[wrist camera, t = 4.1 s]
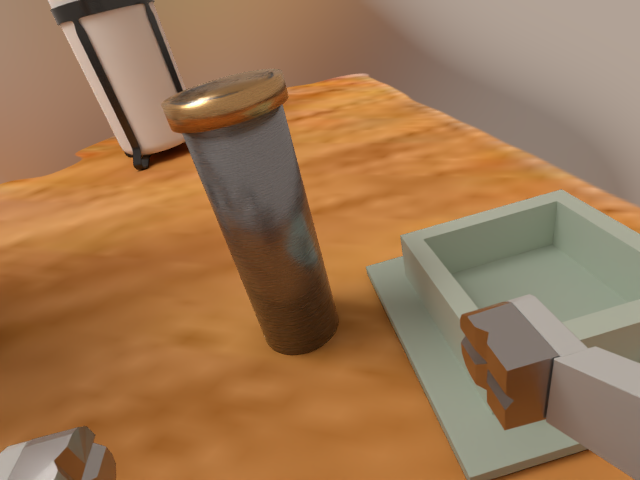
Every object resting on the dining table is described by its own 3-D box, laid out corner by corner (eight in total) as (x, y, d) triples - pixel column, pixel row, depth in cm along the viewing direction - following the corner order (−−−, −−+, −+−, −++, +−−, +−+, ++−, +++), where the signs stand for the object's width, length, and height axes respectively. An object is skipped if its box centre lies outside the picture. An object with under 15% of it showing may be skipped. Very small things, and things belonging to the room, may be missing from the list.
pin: (261, 371, 22) (150, 117, 15) (257, 309, 26) (170, 91, 19) (353, 344, 22) (288, 81, 15) (334, 287, 27) (276, 63, 19)
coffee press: (233, 126, 67) (157, -102, 52) (178, 167, 55) (56, -115, 39) (152, 136, 74) (62, -64, 58) (87, 175, 62) (-49, -65, 46)
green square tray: (469, 485, 15) (468, 430, 13) (367, 273, 27) (358, 228, 25) (811, 378, 16) (856, 310, 14) (563, 217, 28) (569, 168, 26)
